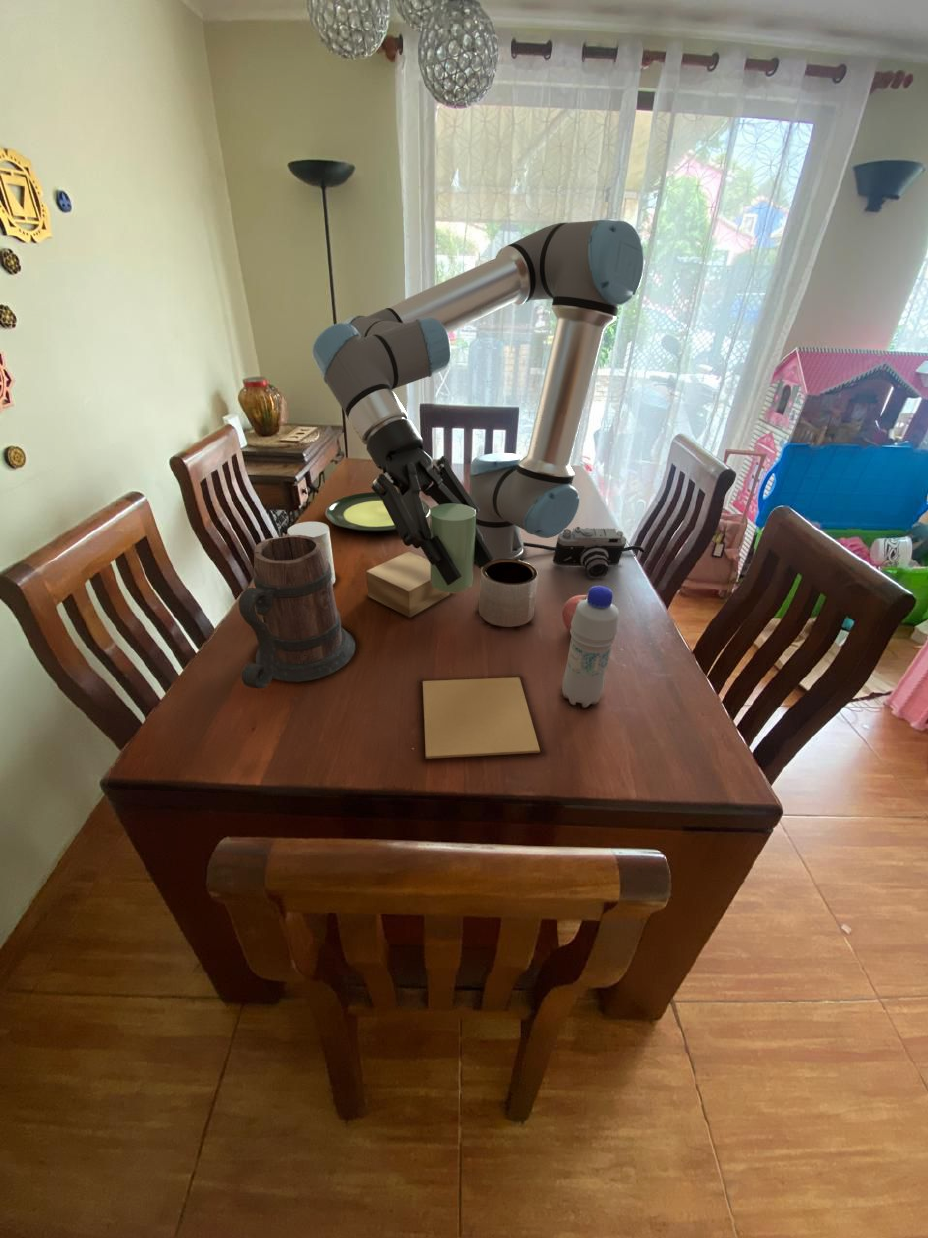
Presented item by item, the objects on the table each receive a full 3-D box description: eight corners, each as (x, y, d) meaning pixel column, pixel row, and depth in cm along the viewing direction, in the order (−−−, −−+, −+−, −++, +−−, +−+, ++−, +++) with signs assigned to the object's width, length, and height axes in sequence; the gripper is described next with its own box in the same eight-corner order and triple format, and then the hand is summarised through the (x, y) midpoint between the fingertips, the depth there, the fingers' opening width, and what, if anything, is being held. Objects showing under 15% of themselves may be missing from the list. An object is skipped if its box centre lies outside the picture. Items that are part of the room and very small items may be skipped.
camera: (556, 583, 117) (565, 550, 109) (551, 557, 123) (558, 524, 115) (625, 583, 118) (638, 550, 110) (616, 557, 123) (628, 524, 116)
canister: (471, 571, 80) (474, 503, 74) (475, 592, 75) (478, 520, 69) (429, 571, 80) (429, 502, 74) (430, 592, 75) (430, 520, 69)
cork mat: (519, 679, 86) (519, 677, 86) (539, 752, 73) (540, 750, 73) (422, 683, 85) (422, 680, 85) (425, 759, 72) (425, 756, 71)
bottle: (554, 684, 86) (571, 577, 75) (594, 682, 86) (617, 576, 75) (564, 712, 80) (584, 602, 69) (607, 711, 81) (633, 601, 70)
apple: (568, 617, 103) (573, 581, 98) (604, 628, 100) (611, 592, 95) (554, 635, 97) (559, 599, 93) (591, 648, 94) (599, 610, 90)
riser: (409, 575, 115) (408, 551, 112) (450, 594, 109) (450, 569, 105) (368, 596, 107) (365, 570, 104) (409, 618, 101) (408, 591, 98)
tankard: (290, 616, 100) (272, 519, 89) (371, 633, 96) (362, 533, 85) (207, 694, 81) (171, 583, 70) (303, 718, 78) (280, 604, 66)
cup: (325, 592, 108) (318, 539, 101) (289, 588, 109) (279, 535, 103) (341, 574, 115) (335, 523, 108) (306, 570, 116) (298, 519, 109)
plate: (441, 505, 151) (441, 496, 150) (412, 544, 128) (412, 535, 127) (351, 495, 156) (351, 486, 155) (308, 531, 133) (306, 522, 132)
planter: (538, 605, 106) (543, 563, 101) (526, 634, 97) (531, 590, 92) (487, 595, 109) (490, 554, 104) (471, 622, 100) (473, 578, 95)
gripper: (422, 436, 83) (496, 560, 83) (321, 461, 70) (409, 607, 71) (447, 406, 77) (527, 539, 77) (342, 427, 65) (438, 587, 65)
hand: (471, 571), depth 74 cm, fingers closed on canister, 6 cm apart
